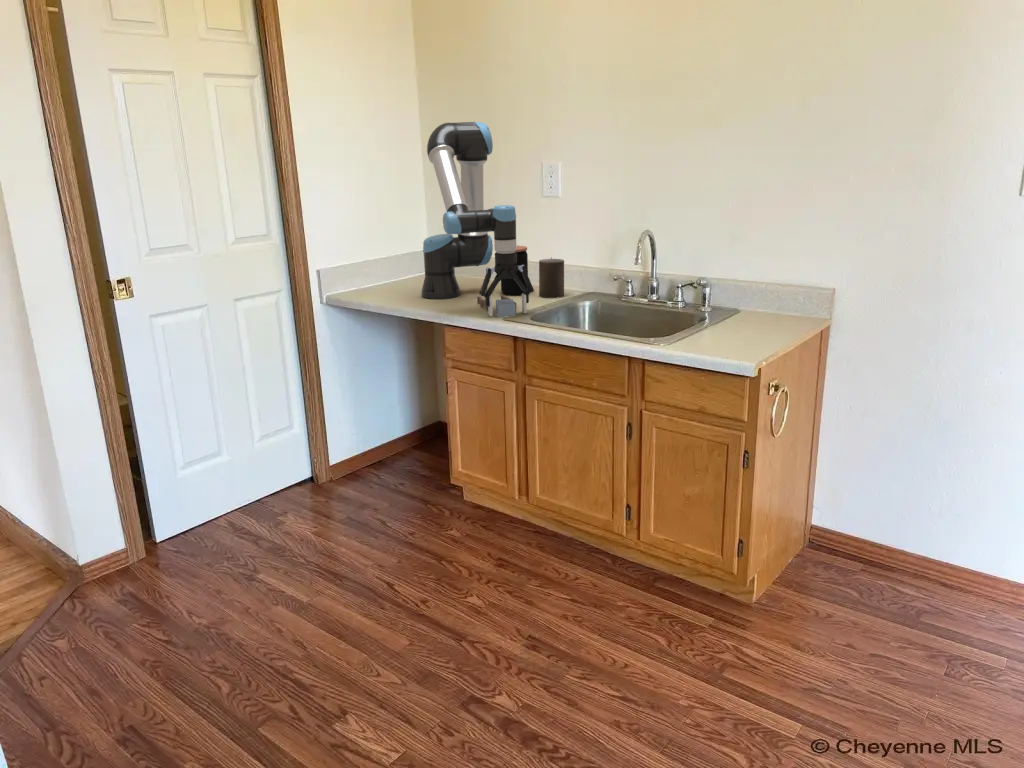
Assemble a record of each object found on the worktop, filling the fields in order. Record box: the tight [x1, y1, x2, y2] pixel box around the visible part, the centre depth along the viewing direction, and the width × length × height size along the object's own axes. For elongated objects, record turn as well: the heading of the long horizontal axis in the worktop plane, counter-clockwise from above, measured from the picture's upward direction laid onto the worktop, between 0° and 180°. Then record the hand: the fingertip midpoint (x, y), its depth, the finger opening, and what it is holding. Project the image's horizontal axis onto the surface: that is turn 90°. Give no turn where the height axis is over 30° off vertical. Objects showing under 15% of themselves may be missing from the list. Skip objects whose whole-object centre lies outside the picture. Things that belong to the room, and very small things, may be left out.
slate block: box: [495, 298, 517, 318], centre depth 276 cm, size 9×6×4 cm, turn 6°
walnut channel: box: [476, 293, 517, 312], centre depth 288 cm, size 16×10×2 cm, turn 16°
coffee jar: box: [500, 245, 529, 297], centre depth 308 cm, size 11×11×18 cm
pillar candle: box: [538, 256, 565, 299], centre depth 302 cm, size 10×10×15 cm
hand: (507, 314), depth 275 cm, fingers open, 12 cm apart
